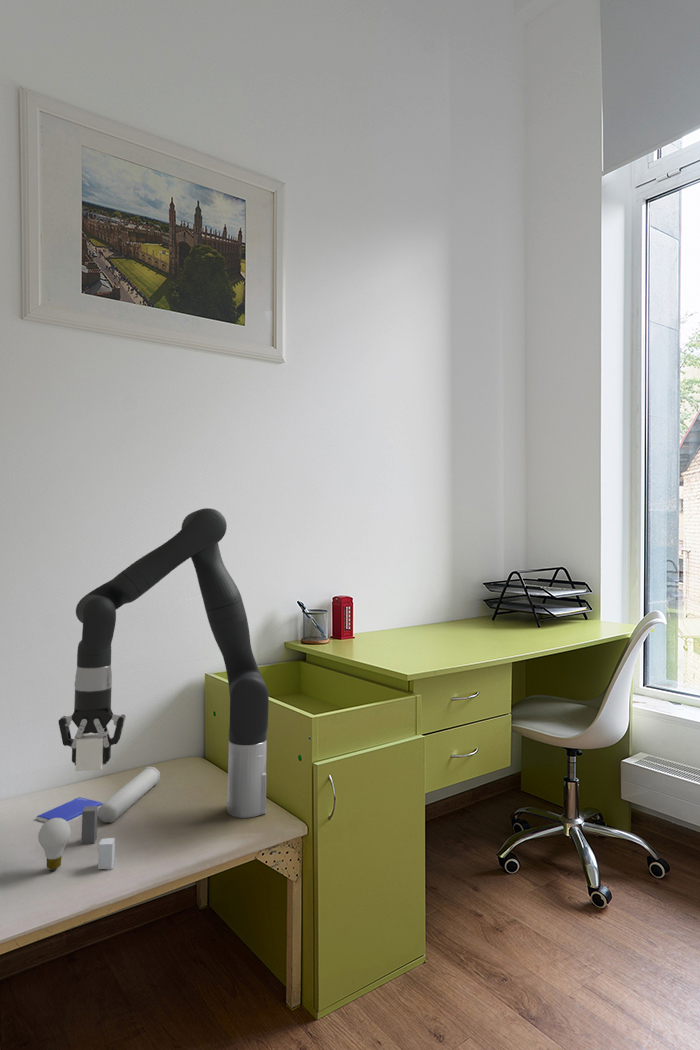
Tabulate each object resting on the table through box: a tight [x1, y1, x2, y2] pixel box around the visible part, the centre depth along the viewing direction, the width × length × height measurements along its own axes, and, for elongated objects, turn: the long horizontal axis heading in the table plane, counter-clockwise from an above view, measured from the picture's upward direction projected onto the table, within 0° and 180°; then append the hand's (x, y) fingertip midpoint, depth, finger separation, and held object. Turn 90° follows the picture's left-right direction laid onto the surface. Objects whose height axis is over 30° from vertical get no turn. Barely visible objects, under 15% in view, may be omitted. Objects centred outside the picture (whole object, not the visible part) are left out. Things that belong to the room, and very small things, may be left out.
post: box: [81, 806, 99, 845], centre depth 142 cm, size 3×3×7 cm
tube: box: [98, 766, 161, 823], centre depth 163 cm, size 5×5×25 cm
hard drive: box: [36, 796, 104, 824], centre depth 156 cm, size 2×8×12 cm
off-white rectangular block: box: [75, 732, 105, 772], centre depth 142 cm, size 5×5×7 cm
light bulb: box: [37, 818, 72, 871], centre depth 129 cm, size 6×6×10 cm
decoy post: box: [97, 837, 116, 870], centre depth 131 cm, size 3×3×5 cm
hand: (91, 763), depth 142 cm, fingers closed on off-white rectangular block, 5 cm apart
